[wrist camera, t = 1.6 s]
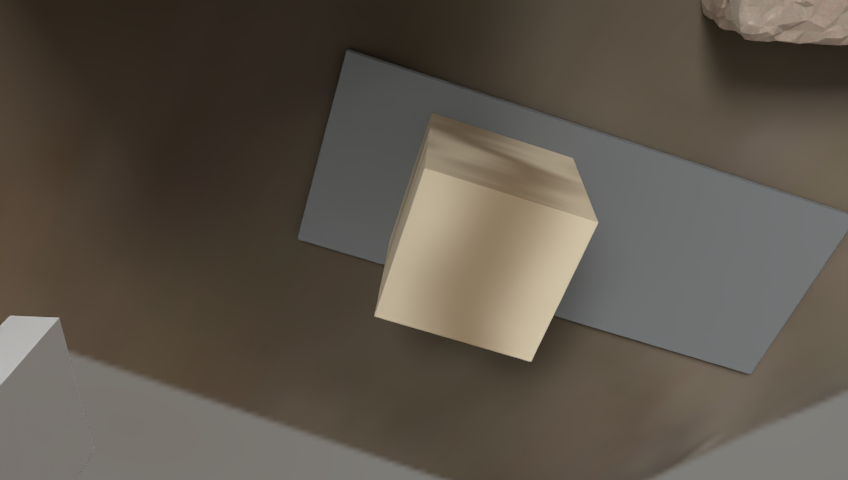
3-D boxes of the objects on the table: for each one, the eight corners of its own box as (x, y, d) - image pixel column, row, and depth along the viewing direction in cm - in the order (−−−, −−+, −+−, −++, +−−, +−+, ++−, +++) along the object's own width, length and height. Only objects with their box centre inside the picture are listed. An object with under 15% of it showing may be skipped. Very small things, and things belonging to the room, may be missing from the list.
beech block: (389, 239, 36) (374, 316, 29) (431, 112, 33) (424, 168, 26) (519, 279, 36) (530, 362, 30) (572, 158, 33) (598, 222, 27)
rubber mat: (298, 235, 36) (297, 239, 36) (347, 48, 32) (346, 50, 31) (747, 369, 39) (750, 374, 38) (852, 213, 34) (856, 217, 34)
